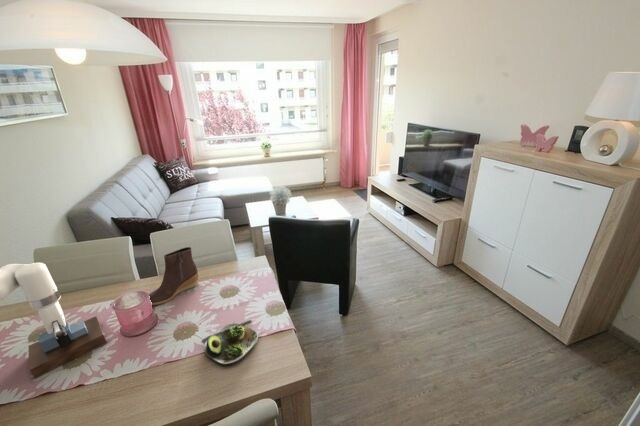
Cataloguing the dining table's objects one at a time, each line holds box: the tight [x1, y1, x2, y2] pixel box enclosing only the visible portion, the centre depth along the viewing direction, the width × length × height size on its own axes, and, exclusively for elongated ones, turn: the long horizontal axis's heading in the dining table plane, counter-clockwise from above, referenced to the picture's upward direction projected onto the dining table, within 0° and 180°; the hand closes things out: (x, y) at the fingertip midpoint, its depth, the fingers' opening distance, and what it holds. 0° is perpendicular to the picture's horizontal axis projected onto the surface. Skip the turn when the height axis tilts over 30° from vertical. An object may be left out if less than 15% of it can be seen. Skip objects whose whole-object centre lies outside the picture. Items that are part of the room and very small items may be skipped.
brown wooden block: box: [28, 315, 108, 379], centre depth 105 cm, size 20×14×4 cm
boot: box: [148, 246, 199, 306], centre depth 129 cm, size 9×24×20 cm, turn 134°
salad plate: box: [200, 319, 259, 367], centre depth 104 cm, size 19×18×5 cm
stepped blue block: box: [38, 320, 88, 354], centre depth 103 cm, size 12×5×5 cm, turn 134°
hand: (64, 337), depth 104 cm, fingers open, 9 cm apart
